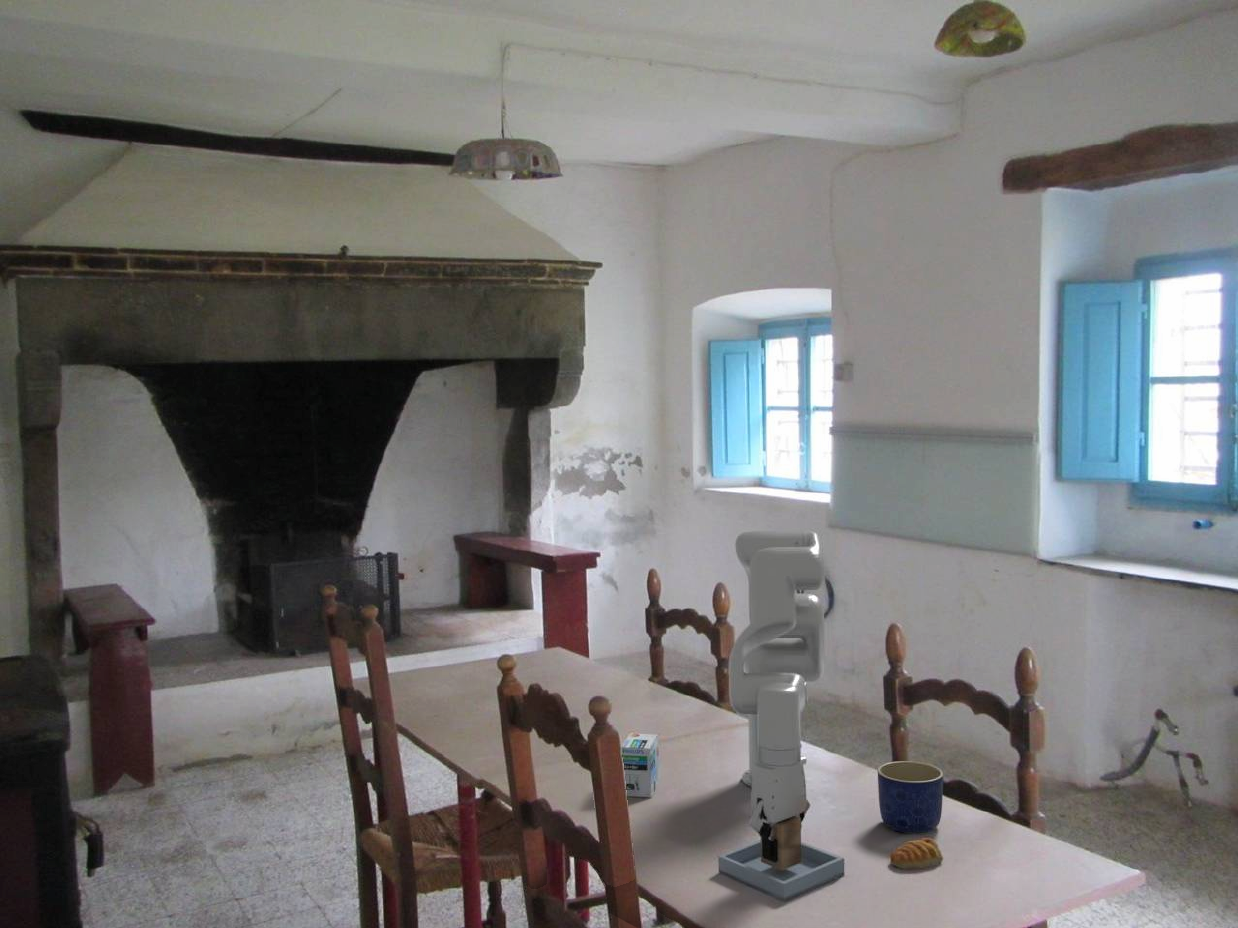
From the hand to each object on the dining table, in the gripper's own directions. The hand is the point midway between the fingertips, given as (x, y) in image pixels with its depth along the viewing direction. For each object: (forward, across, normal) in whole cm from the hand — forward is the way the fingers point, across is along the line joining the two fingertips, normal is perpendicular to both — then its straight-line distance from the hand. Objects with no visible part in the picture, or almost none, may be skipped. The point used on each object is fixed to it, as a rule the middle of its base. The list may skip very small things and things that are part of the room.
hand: (780, 854), depth 197 cm
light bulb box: (+4, -10, -50) cm, 51 cm away
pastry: (+4, -22, +13) cm, 26 cm away
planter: (+4, -35, +2) cm, 35 cm away
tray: (+3, 0, 0) cm, 3 cm away
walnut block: (+1, 0, 0) cm, 1 cm away
